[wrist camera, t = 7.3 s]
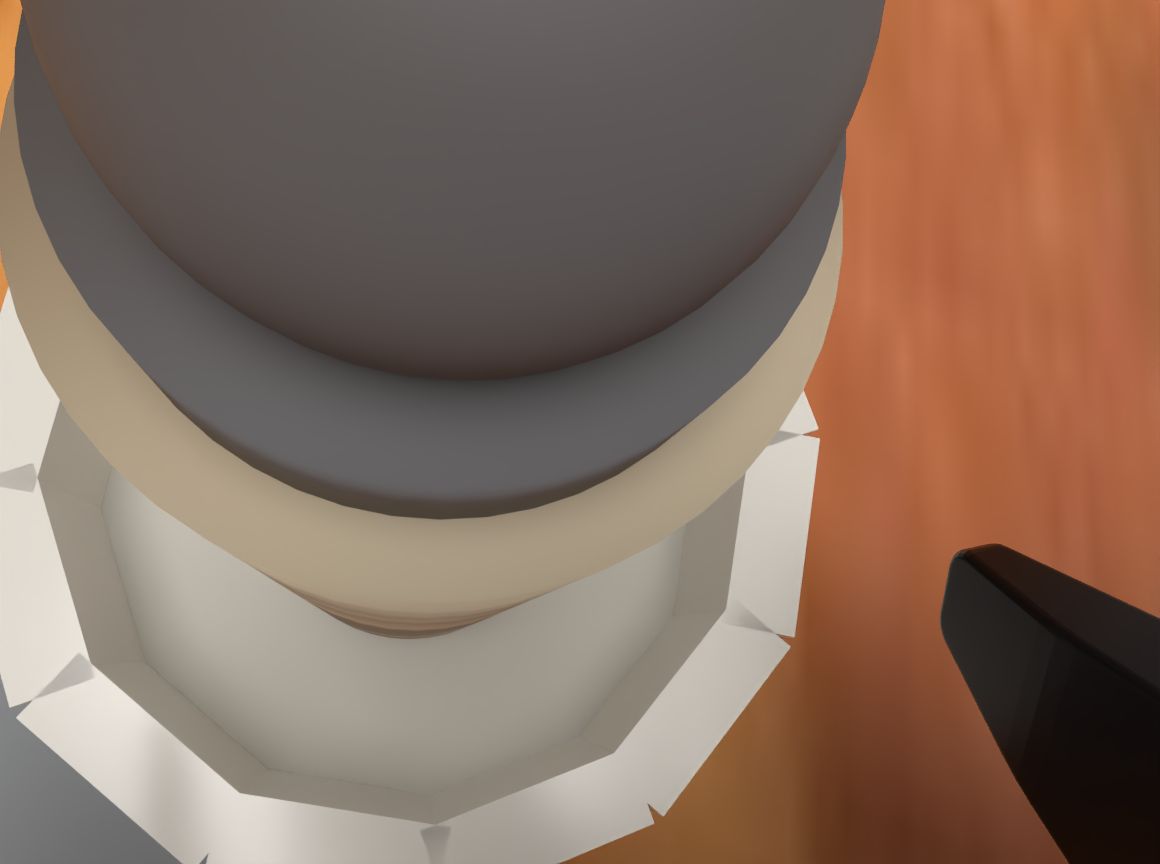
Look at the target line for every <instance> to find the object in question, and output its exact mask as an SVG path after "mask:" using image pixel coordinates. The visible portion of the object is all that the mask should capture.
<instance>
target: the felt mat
mask: <svg viewBox="0 0 1160 864" xmlns="http://www.w3.org/2000/svg"><path fill="white" fill-rule="evenodd" d="M27 706H28V705H27ZM27 706H20V707H12V708H9V704H8V701H7V697H6V693H5V690H4V686H3V682H2V679H1V675H0V864H182V863H181V862H180V861H179V860H178V859H177V858H175V857H174V856H173V855H172V854H171V853H170V852H169V851H167V850H166V849H165V848H164V847H163V846H162V845H161V844H159V843H158V842H157V841H156V840H155V839H154V838H153V837H151V836H150V835H149V834H148V833H147V832H146V831H145V830H143V829H142V828H141V827H140V826H139V825H138V824H137V823H135V822H134V821H133V820H132V819H131V818H130V817H129V816H127V815H126V814H125V813H124V812H123V811H122V810H121V809H119V808H118V807H117V806H116V805H115V804H114V803H113V802H111V801H110V800H109V799H108V798H107V797H106V796H105V795H103V794H102V793H101V792H100V791H99V790H98V789H97V788H95V787H94V786H93V785H92V784H91V783H90V782H89V781H87V780H86V779H85V778H84V777H83V776H82V775H81V774H79V773H78V772H77V771H76V770H75V769H74V768H73V767H71V766H70V765H69V764H68V763H67V762H66V761H65V760H63V759H62V758H61V757H60V756H59V755H58V754H57V753H55V752H54V751H53V750H52V749H51V748H50V747H49V746H47V745H46V744H45V743H44V742H43V741H42V740H41V739H39V738H38V737H37V736H36V735H35V734H34V733H33V732H31V731H30V730H29V729H28V728H27V727H26V726H25V725H23V724H22V723H21V722H20V721H19V720H18V719H17V718H16V717H17V716H18V715H19V714H20V713H21V712H22V711H23V710H24V709H25V708H26V707H27ZM207 857H208V856H207ZM207 857H206V858H205V859H204V860H203V861H202V862H201V863H200V864H206V862H207Z"/></svg>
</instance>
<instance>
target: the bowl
mask: <svg viewBox="0 0 1160 864" xmlns="http://www.w3.org/2000/svg"><path fill="white" fill-rule="evenodd" d="M817 429H819V428H818V426H817V423H816V421H815V418H814V416H813V413H812V411H811V408H810V406H809V403H808V401H807V398H806V395H805V393H804V390H803V392H802V394H801V395H800V397H799V399H798V400H797V402H796V404H795V405H794V407H793V408H792V410H791V412H790V413H789V415H788V416H787V418H786V420H785V421H784V423H783V425H782V426H781V428H780V429H779V431H778V433H777V434H776V436H775V437H774V438H773V440H772V441H771V442H770V443H769V444H768V446H767V447H766V448H765V449H764V450H763V452H762V453H761V454H760V455H759V456H758V458H757V459H756V460H755V461H754V462H753V464H752V465H751V466H750V467H749V469H748V470H747V471H746V472H745V473H744V475H743V476H742V477H741V478H740V479H739V480H737V481H736V482H735V483H734V484H733V485H732V486H731V487H730V488H729V489H728V490H726V491H725V492H724V493H723V494H722V495H721V496H720V497H719V498H718V499H717V500H716V501H714V502H713V503H712V504H711V505H710V506H709V507H708V508H707V509H706V510H705V511H703V512H702V513H701V514H699V515H698V516H696V517H695V518H694V519H692V520H691V521H689V522H688V523H686V524H685V525H683V526H682V527H680V528H679V529H677V530H676V531H675V532H673V533H672V534H670V535H669V536H667V537H666V538H664V539H663V540H661V541H660V542H659V543H657V544H655V545H653V546H651V547H649V548H647V549H645V550H643V551H641V552H639V553H637V554H635V555H633V556H631V557H629V558H627V559H625V560H623V561H621V562H619V563H617V564H615V565H613V566H611V567H609V568H607V569H604V570H602V571H600V572H597V573H595V574H592V575H590V576H588V577H585V578H583V579H580V580H578V581H576V582H573V583H571V584H568V585H566V586H564V587H561V588H559V589H556V590H554V591H552V592H549V593H547V594H545V595H542V596H540V597H537V598H535V599H533V600H530V601H528V602H525V603H523V604H521V605H518V606H516V607H513V608H511V609H509V610H506V611H504V612H501V613H499V614H497V615H494V616H492V617H489V618H487V619H485V620H482V621H480V622H477V623H475V624H473V625H470V626H468V627H465V628H463V629H460V630H457V631H454V632H451V633H448V634H444V635H439V636H435V637H430V638H418V639H401V638H389V637H384V636H379V635H374V634H370V633H367V632H364V631H361V630H358V629H355V628H353V627H351V626H349V625H347V624H345V623H343V622H341V621H339V620H337V619H335V618H334V617H332V616H331V615H329V614H327V613H326V612H324V611H322V610H321V609H319V608H318V607H316V606H314V605H313V604H311V603H309V602H308V601H306V600H304V599H303V598H301V597H300V596H298V595H296V594H295V593H293V592H291V591H290V590H288V589H287V588H285V587H283V586H282V585H280V584H278V583H277V582H275V581H274V580H272V579H270V578H269V577H267V576H265V575H264V574H262V573H260V572H259V571H257V570H256V569H254V568H252V567H251V566H249V565H247V564H246V563H244V562H243V561H241V560H239V559H238V558H236V557H234V556H233V555H231V554H229V553H228V552H226V551H225V550H223V549H221V548H220V547H218V546H216V545H215V544H213V543H212V542H210V541H208V540H207V539H205V538H204V537H202V536H201V535H199V534H198V533H196V532H195V531H193V530H192V529H190V528H189V527H187V526H186V525H184V524H183V523H181V522H180V521H178V520H177V519H176V518H174V517H173V516H171V515H170V514H168V513H167V512H165V511H164V510H162V509H161V508H159V507H158V506H156V505H155V504H154V503H153V502H152V501H150V500H149V499H148V498H147V497H146V496H145V495H144V494H143V493H142V492H140V491H139V490H138V489H137V488H136V487H135V486H134V485H133V484H131V483H130V482H129V481H128V480H127V479H126V478H125V477H124V476H123V475H121V474H120V473H119V472H118V471H117V470H116V469H115V468H114V467H112V466H111V465H110V464H109V462H108V461H107V460H106V459H105V458H104V457H103V455H102V454H101V453H100V452H99V451H98V449H97V448H96V447H95V446H94V445H93V443H92V442H91V441H90V440H89V439H88V438H87V436H86V435H85V434H84V433H83V432H82V430H81V429H80V428H79V427H78V426H77V425H76V423H75V422H74V421H73V420H72V419H71V417H70V415H69V414H68V412H67V411H66V409H65V407H64V406H63V404H62V403H61V401H60V399H59V398H58V396H57V395H56V393H55V391H54V390H53V388H52V387H51V385H50V384H49V382H48V380H47V379H46V377H45V376H44V374H43V372H42V371H41V369H40V367H39V365H38V362H37V360H36V358H35V356H34V353H33V351H32V349H31V347H30V344H29V342H28V340H27V338H26V335H25V333H24V331H23V328H22V326H21V324H20V322H19V319H18V317H17V314H16V311H15V307H14V303H13V300H12V296H11V292H10V289H9V287H8V290H7V294H6V297H5V300H4V303H3V306H2V310H1V313H0V675H1V679H2V682H3V686H4V690H5V693H6V697H7V701H8V704H9V708H12V707H20V706H27V705H28V706H27V707H26V708H25V709H24V710H23V711H22V712H21V713H20V714H19V715H18V716H17V717H16V718H17V719H18V720H19V721H20V722H21V723H22V724H23V725H25V726H26V727H27V728H28V729H29V730H30V731H31V732H33V733H34V734H35V735H36V736H37V737H38V738H39V739H41V740H42V741H43V742H44V743H45V744H46V745H47V746H49V747H50V748H51V749H52V750H53V751H54V752H55V753H57V754H58V755H59V756H60V757H61V758H62V759H63V760H65V761H66V762H67V763H68V764H69V765H70V766H71V767H73V768H74V769H75V770H76V771H77V772H78V773H79V774H81V775H82V776H83V777H84V778H85V779H86V780H87V781H89V782H90V783H91V784H92V785H93V786H94V787H95V788H97V789H98V790H99V791H100V792H101V793H102V794H103V795H105V796H106V797H107V798H108V799H109V800H110V801H111V802H113V803H114V804H115V805H116V806H117V807H118V808H119V809H121V810H122V811H123V812H124V813H125V814H126V815H127V816H129V817H130V818H131V819H132V820H133V821H134V822H135V823H137V824H138V825H139V826H140V827H141V828H142V829H143V830H145V831H146V832H147V833H148V834H149V835H150V836H151V837H153V838H154V839H155V840H156V841H157V842H158V843H159V844H161V845H162V846H163V847H164V848H165V849H166V850H167V851H169V852H170V853H171V854H172V855H173V856H174V857H175V858H177V859H178V860H179V861H180V862H181V863H182V864H200V863H201V862H202V861H203V860H204V859H205V858H206V857H207V856H208V857H207V862H206V864H559V863H561V862H564V861H566V860H569V859H571V858H573V857H576V856H578V855H581V854H583V853H585V852H588V851H590V850H592V849H595V848H597V847H600V846H602V845H604V844H607V843H609V842H612V841H614V840H616V839H619V838H621V837H624V836H626V835H628V834H631V833H633V832H636V831H638V830H640V829H643V828H645V827H647V826H650V825H652V824H654V821H653V818H652V815H651V812H650V809H651V810H653V811H655V812H656V813H658V814H660V815H661V816H664V815H665V814H666V812H667V811H668V810H669V808H670V807H671V806H672V804H673V803H674V802H675V800H676V799H677V798H678V796H679V795H680V794H681V792H682V791H683V790H684V788H685V787H686V786H687V784H688V783H689V782H690V780H691V779H692V778H693V776H694V775H695V774H696V772H697V771H698V770H699V768H700V767H701V766H702V764H703V763H704V762H705V760H706V759H707V758H708V756H709V755H710V754H711V752H712V751H713V750H714V749H715V747H716V746H717V745H718V743H719V742H720V741H721V739H722V738H723V737H724V735H725V734H726V733H727V731H728V730H729V729H730V727H731V726H732V725H733V723H734V722H735V721H736V719H737V718H738V717H739V715H740V714H741V713H742V711H743V710H744V709H745V707H746V706H747V705H748V703H749V702H750V701H751V699H752V698H753V697H754V695H755V694H756V693H757V691H758V690H759V689H760V687H761V686H762V685H763V683H764V682H765V681H766V679H767V678H768V677H769V675H770V674H771V673H772V671H773V670H774V669H775V667H776V666H777V665H778V663H779V662H780V661H781V659H782V658H783V657H784V655H785V654H786V653H787V651H788V650H789V649H790V646H789V645H788V644H787V643H786V642H785V641H783V640H782V639H781V638H789V637H795V631H796V623H797V615H798V607H799V599H800V591H801V584H802V576H803V568H804V560H805V552H806V544H807V536H808V529H809V521H810V513H811V505H812V497H813V489H814V481H815V474H816V466H817V458H818V450H819V442H820V439H819V438H814V437H810V436H806V435H808V434H810V433H812V432H814V431H816V430H817ZM649 808H650V809H649Z"/></svg>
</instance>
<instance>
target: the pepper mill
mask: <svg viewBox="0 0 1160 864" xmlns="http://www.w3.org/2000/svg"><path fill="white" fill-rule="evenodd" d="M20 1H21V5H22V8H23V9H22V14H21V20H20V25H19V31H18V36H17V42H16V47H15V74H14V78H13V80H12V83H11V86H10V89H9V92H8V95H7V98H6V104H5V109H4V115H3V120H2V126H1V131H0V250H1V258H2V263H3V267H4V271H5V274H6V278H7V282H8V285H9V289H10V292H11V296H12V300H13V303H14V307H15V311H16V314H17V317H18V319H19V322H20V324H21V326H22V328H23V331H24V333H25V335H26V338H27V340H28V342H29V344H30V347H31V349H32V351H33V353H34V356H35V358H36V360H37V362H38V365H39V367H40V369H41V371H42V372H43V374H44V376H45V377H46V379H47V380H48V382H49V384H50V385H51V387H52V388H53V390H54V391H55V393H56V395H57V396H58V398H59V399H60V401H61V403H62V404H63V406H64V407H65V409H66V411H67V412H68V414H69V415H70V417H71V419H72V420H73V421H74V422H75V423H76V425H77V426H78V427H79V428H80V429H81V430H82V432H83V433H84V434H85V435H86V436H87V438H88V439H89V440H90V441H91V442H92V443H93V445H94V446H95V447H96V448H97V449H98V451H99V452H100V453H101V454H102V455H103V457H104V458H105V459H106V460H107V461H108V462H109V464H110V465H111V466H112V467H114V468H115V469H116V470H117V471H118V472H119V473H120V474H121V475H123V476H124V477H125V478H126V479H127V480H128V481H129V482H130V483H131V484H133V485H134V486H135V487H136V488H137V489H138V490H139V491H140V492H142V493H143V494H144V495H145V496H146V497H147V498H148V499H149V500H150V501H152V502H153V503H154V504H155V505H156V506H158V507H159V508H161V509H162V510H164V511H165V512H167V513H168V514H170V515H171V516H173V517H174V518H176V519H177V520H178V521H180V522H181V523H183V524H184V525H186V526H187V527H189V528H190V529H192V530H193V531H195V532H196V533H198V534H199V535H201V536H202V537H204V538H205V539H207V540H208V541H210V542H212V543H213V544H215V545H216V546H218V547H220V548H221V549H223V550H225V551H226V552H228V553H229V554H231V555H233V556H234V557H236V558H238V559H239V560H241V561H243V562H244V563H246V564H247V565H249V566H251V567H252V568H254V569H256V570H257V571H259V572H260V573H262V574H264V575H265V576H267V577H269V578H270V579H272V580H274V581H275V582H277V583H278V584H280V585H282V586H283V587H285V588H287V589H288V590H290V591H291V592H293V593H295V594H296V595H298V596H300V597H301V598H303V599H304V600H306V601H308V602H309V603H311V604H313V605H314V606H316V607H318V608H319V609H321V610H322V611H324V612H326V613H327V614H329V615H331V616H332V617H334V618H335V619H337V620H339V621H341V622H343V623H345V624H347V625H349V626H351V627H353V628H355V629H358V630H361V631H364V632H367V633H370V634H374V635H379V636H384V637H389V638H401V639H418V638H430V637H435V636H439V635H444V634H448V633H451V632H454V631H457V630H460V629H463V628H465V627H468V626H470V625H473V624H475V623H477V622H480V621H482V620H485V619H487V618H489V617H492V616H494V615H497V614H499V613H501V612H504V611H506V610H509V609H511V608H513V607H516V606H518V605H521V604H523V603H525V602H528V601H530V600H533V599H535V598H537V597H540V596H542V595H545V594H547V593H549V592H552V591H554V590H556V589H559V588H561V587H564V586H566V585H568V584H571V583H573V582H576V581H578V580H580V579H583V578H585V577H588V576H590V575H592V574H595V573H597V572H600V571H602V570H604V569H607V568H609V567H611V566H613V565H615V564H617V563H619V562H621V561H623V560H625V559H627V558H629V557H631V556H633V555H635V554H637V553H639V552H641V551H643V550H645V549H647V548H649V547H651V546H653V545H655V544H657V543H659V542H660V541H661V540H663V539H664V538H666V537H667V536H669V535H670V534H672V533H673V532H675V531H676V530H677V529H679V528H680V527H682V526H683V525H685V524H686V523H688V522H689V521H691V520H692V519H694V518H695V517H696V516H698V515H699V514H701V513H702V512H703V511H705V510H706V509H707V508H708V507H709V506H710V505H711V504H712V503H713V502H714V501H716V500H717V499H718V498H719V497H720V496H721V495H722V494H723V493H724V492H725V491H726V490H728V489H729V488H730V487H731V486H732V485H733V484H734V483H735V482H736V481H737V480H739V479H740V478H741V477H742V476H743V475H744V473H745V472H746V471H747V470H748V469H749V467H750V466H751V465H752V464H753V462H754V461H755V460H756V459H757V458H758V456H759V455H760V454H761V453H762V452H763V450H764V449H765V448H766V447H767V446H768V444H769V443H770V442H771V441H772V440H773V438H774V437H775V436H776V434H777V433H778V431H779V429H780V428H781V426H782V425H783V423H784V421H785V420H786V418H787V416H788V415H789V413H790V412H791V410H792V408H793V407H794V405H795V404H796V402H797V400H798V399H799V397H800V395H801V394H802V392H803V390H804V387H805V385H806V383H807V380H808V378H809V376H810V374H811V371H812V369H813V367H814V365H815V362H816V360H817V358H818V356H819V353H820V351H821V349H822V346H823V342H824V339H825V335H826V332H827V328H828V325H829V321H830V318H831V314H832V311H833V307H834V304H835V300H836V294H837V286H838V279H839V272H840V265H841V258H842V246H843V201H842V193H841V188H842V181H843V174H844V167H845V160H846V129H847V127H848V124H849V122H850V120H851V118H852V116H853V113H854V111H855V108H856V106H857V103H858V101H859V98H860V96H861V93H862V91H863V88H864V86H865V83H866V80H867V76H868V73H869V69H870V66H871V62H872V59H873V56H874V52H875V49H876V45H877V42H878V39H879V33H880V28H881V22H882V16H883V10H884V4H885V0H20Z"/></svg>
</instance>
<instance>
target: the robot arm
mask: <svg viewBox="0 0 1160 864" xmlns="http://www.w3.org/2000/svg"><path fill="white" fill-rule="evenodd" d="M940 621H941V629H942V633H943V636H944V639H945V642H946V644H947V646H948V648H949V650H950V652H951V654H952V656H953V658H954V660H955V662H956V664H957V666H958V668H959V670H960V672H961V674H962V676H963V678H964V680H965V681H966V683H967V685H968V687H969V689H970V691H971V693H972V695H973V697H974V699H975V701H976V703H977V705H978V707H979V709H980V711H981V713H982V715H983V717H984V719H985V721H986V723H987V725H988V727H989V729H990V731H991V733H992V735H993V737H994V739H995V741H996V743H997V745H998V747H999V749H1000V751H1001V753H1002V755H1003V757H1004V759H1005V761H1006V762H1007V764H1008V766H1009V768H1010V770H1011V772H1012V773H1013V775H1014V777H1015V779H1016V781H1017V782H1018V784H1019V786H1020V787H1021V789H1022V790H1023V792H1024V794H1025V795H1026V797H1027V799H1028V800H1029V802H1030V804H1031V805H1032V807H1033V808H1034V810H1035V811H1036V813H1037V814H1038V816H1039V817H1040V819H1041V821H1042V822H1043V824H1044V825H1045V827H1046V828H1047V830H1048V831H1049V833H1050V835H1051V836H1052V838H1053V839H1054V841H1055V842H1056V844H1057V845H1058V847H1059V849H1060V850H1061V852H1062V853H1063V855H1064V856H1065V858H1066V859H1067V861H1068V863H1069V864H1160V618H1158V617H1156V616H1153V615H1151V614H1149V613H1147V612H1145V611H1143V610H1141V609H1138V608H1136V607H1134V606H1132V605H1130V604H1128V603H1126V602H1123V601H1121V600H1119V599H1117V598H1115V597H1113V596H1111V595H1109V594H1106V593H1104V592H1102V591H1100V590H1098V589H1096V588H1094V587H1091V586H1089V585H1087V584H1085V583H1083V582H1081V581H1079V580H1077V579H1074V578H1072V577H1070V576H1068V575H1066V574H1064V573H1062V572H1059V571H1057V570H1055V569H1053V568H1051V567H1049V566H1047V565H1044V564H1042V563H1040V562H1038V561H1036V560H1034V559H1032V558H1030V557H1027V556H1025V555H1023V554H1021V553H1019V552H1017V551H1015V550H1012V549H1010V548H1008V547H1006V546H1003V545H1001V544H987V545H982V546H977V547H973V548H968V549H963V550H960V551H959V552H957V553H956V554H955V555H954V557H953V558H952V560H951V563H950V567H949V573H948V578H947V583H946V588H945V593H944V598H943V604H942V609H941V616H940Z"/></svg>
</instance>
